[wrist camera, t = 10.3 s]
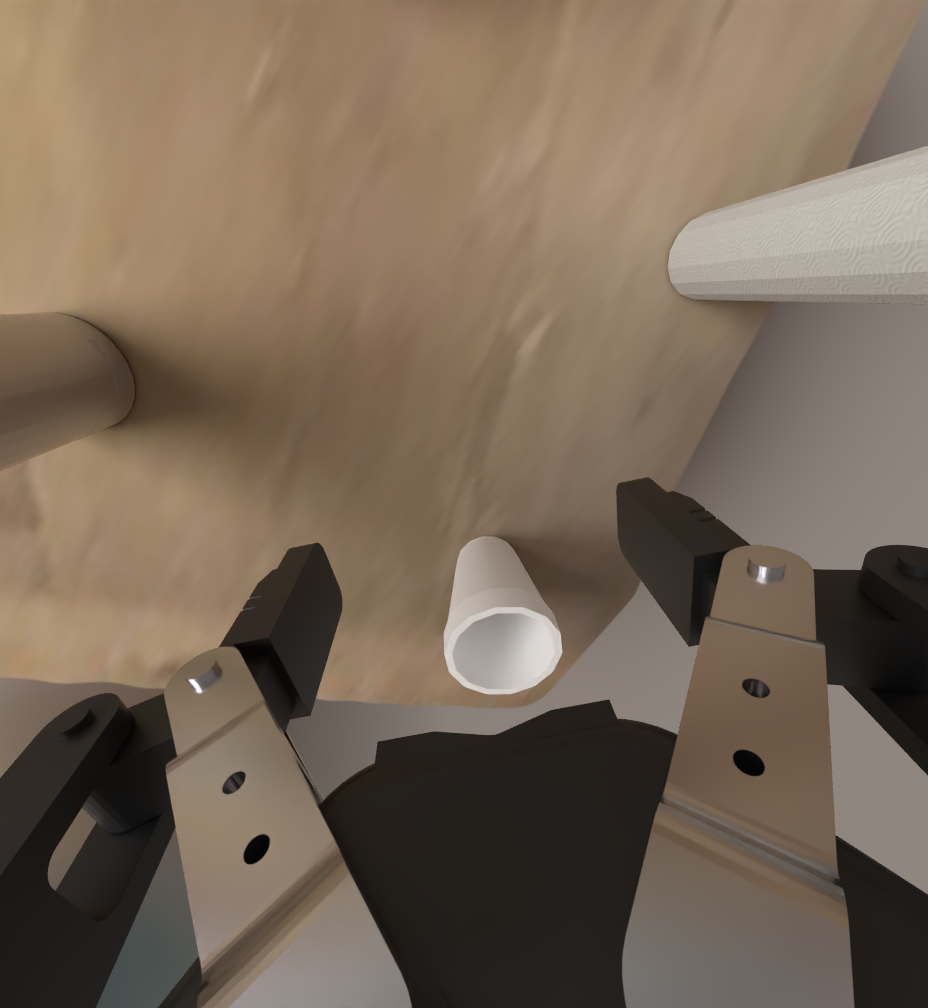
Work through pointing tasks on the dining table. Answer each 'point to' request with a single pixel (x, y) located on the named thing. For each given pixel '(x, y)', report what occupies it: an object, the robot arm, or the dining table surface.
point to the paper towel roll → (816, 240)
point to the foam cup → (498, 622)
